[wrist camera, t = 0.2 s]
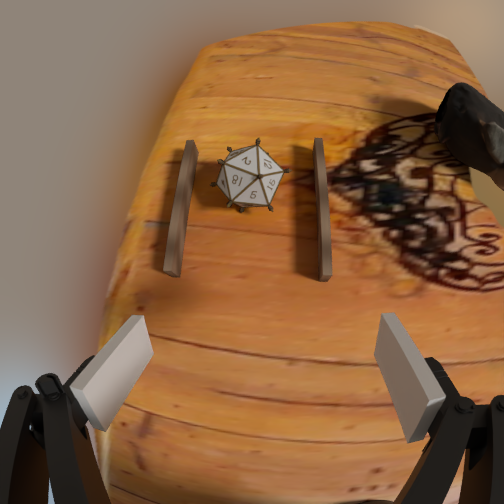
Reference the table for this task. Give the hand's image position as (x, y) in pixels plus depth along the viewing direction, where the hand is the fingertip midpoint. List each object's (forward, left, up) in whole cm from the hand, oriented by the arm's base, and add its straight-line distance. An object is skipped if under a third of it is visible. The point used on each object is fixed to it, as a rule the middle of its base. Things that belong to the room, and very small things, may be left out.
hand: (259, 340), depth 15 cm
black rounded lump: (+28, -34, -16) cm, 47 cm away
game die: (+18, +3, -16) cm, 24 cm away
